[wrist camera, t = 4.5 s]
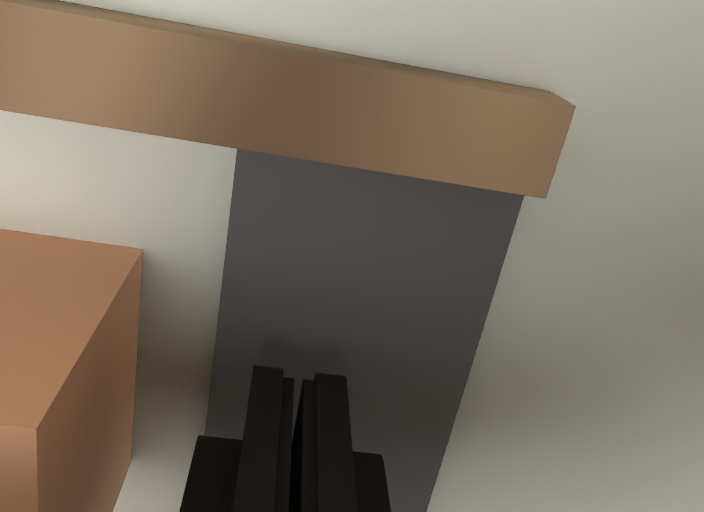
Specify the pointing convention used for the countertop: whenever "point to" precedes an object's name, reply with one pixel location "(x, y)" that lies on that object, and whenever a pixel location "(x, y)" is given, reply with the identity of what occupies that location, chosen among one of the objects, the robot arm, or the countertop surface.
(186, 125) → the channel
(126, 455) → the block
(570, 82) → the countertop surface
